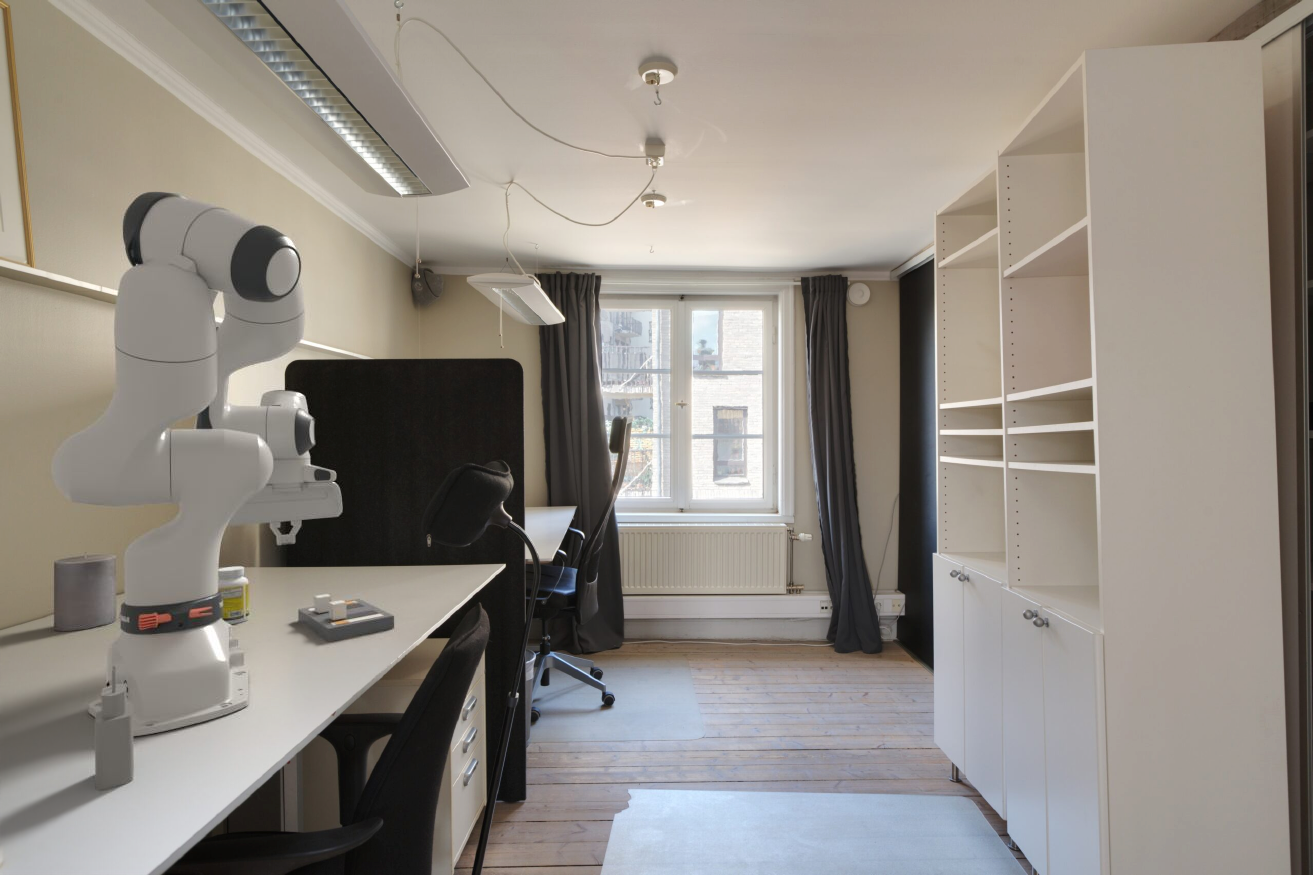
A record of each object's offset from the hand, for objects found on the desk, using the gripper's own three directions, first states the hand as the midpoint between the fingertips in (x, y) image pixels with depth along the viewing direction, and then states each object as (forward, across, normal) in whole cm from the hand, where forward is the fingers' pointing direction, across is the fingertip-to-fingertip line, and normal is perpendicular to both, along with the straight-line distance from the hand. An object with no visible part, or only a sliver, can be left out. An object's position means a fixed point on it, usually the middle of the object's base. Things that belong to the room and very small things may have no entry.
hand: (286, 544), depth 126 cm
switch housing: (+17, +10, -4) cm, 20 cm away
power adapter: (+17, -28, -49) cm, 59 cm away
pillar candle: (+17, -29, +36) cm, 49 cm away
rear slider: (+14, +6, 0) cm, 16 cm away
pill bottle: (+17, -7, +16) cm, 24 cm away
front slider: (+14, +7, -8) cm, 18 cm away
